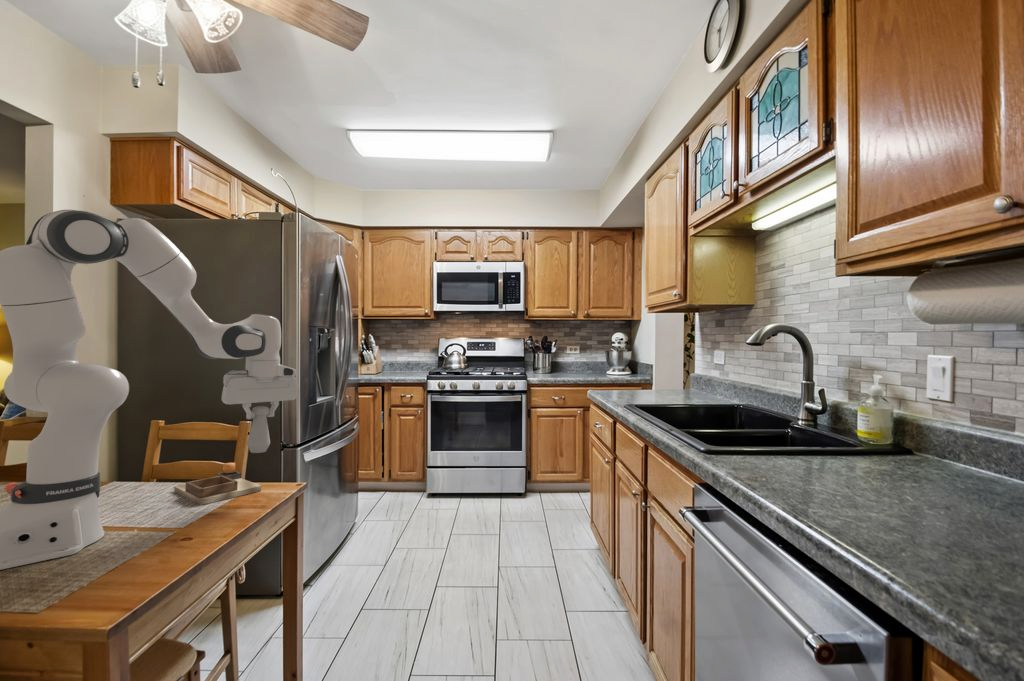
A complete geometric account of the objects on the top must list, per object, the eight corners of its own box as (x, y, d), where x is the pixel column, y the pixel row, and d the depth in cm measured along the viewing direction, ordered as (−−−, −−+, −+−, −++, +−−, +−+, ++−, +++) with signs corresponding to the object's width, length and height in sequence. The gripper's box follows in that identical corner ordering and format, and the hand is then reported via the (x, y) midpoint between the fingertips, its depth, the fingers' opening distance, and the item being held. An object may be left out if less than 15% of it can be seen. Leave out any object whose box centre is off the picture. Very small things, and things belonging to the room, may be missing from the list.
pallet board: (200, 505, 122) (201, 490, 122) (174, 491, 132) (174, 477, 132) (261, 490, 135) (261, 477, 135) (232, 479, 146) (233, 466, 146)
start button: (225, 473, 140) (226, 465, 140) (221, 471, 141) (221, 463, 141) (236, 471, 142) (237, 463, 142) (232, 469, 144) (232, 462, 144)
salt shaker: (252, 454, 127) (254, 408, 127) (243, 451, 130) (245, 406, 130) (273, 451, 131) (275, 406, 132) (264, 448, 135) (266, 404, 135)
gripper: (229, 371, 121) (226, 422, 121) (301, 370, 138) (299, 415, 138) (218, 370, 125) (216, 420, 124) (290, 369, 141) (288, 413, 141)
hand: (260, 417), depth 131 cm, fingers closed on salt shaker, 4 cm apart
